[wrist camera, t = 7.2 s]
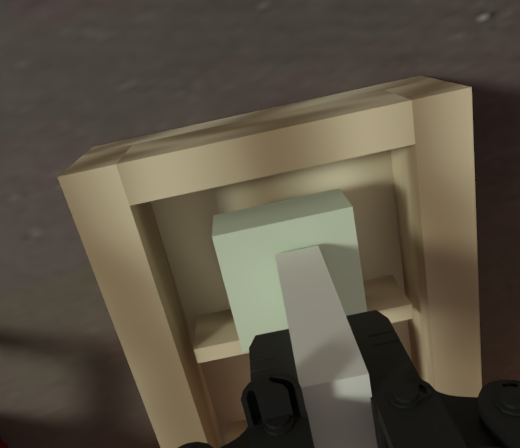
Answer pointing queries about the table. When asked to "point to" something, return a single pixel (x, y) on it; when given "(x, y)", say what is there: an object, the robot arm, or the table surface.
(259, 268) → the key sage
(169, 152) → the wooden compartment tray
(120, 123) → the table surface
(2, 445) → the mug
